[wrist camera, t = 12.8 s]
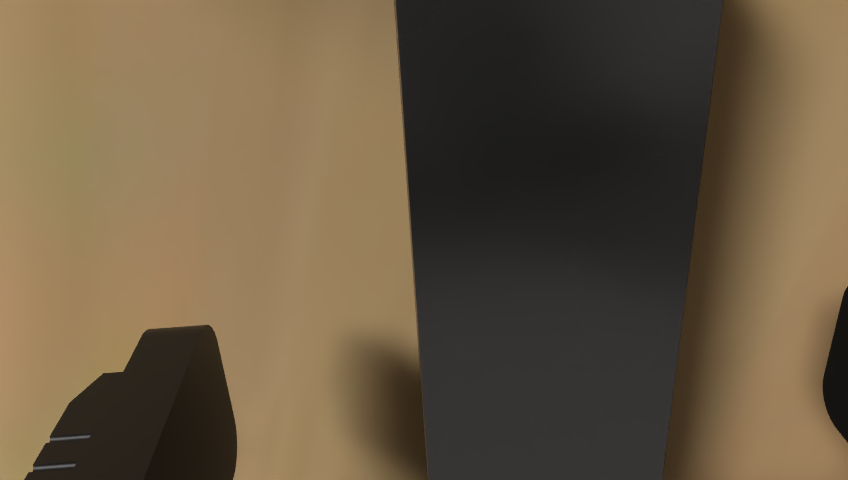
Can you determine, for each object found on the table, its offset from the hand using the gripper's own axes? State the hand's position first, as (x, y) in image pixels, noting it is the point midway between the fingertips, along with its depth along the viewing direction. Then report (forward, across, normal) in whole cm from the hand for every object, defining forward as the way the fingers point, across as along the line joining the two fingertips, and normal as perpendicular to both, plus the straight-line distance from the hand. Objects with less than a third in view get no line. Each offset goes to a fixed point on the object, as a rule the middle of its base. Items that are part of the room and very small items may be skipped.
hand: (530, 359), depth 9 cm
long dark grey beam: (+3, 0, 0) cm, 3 cm away
